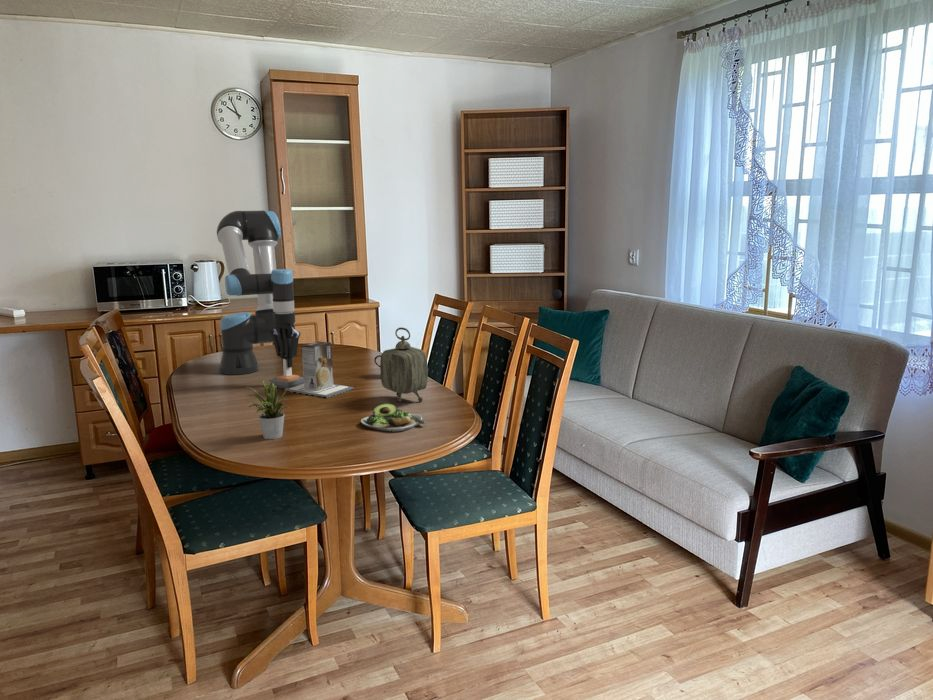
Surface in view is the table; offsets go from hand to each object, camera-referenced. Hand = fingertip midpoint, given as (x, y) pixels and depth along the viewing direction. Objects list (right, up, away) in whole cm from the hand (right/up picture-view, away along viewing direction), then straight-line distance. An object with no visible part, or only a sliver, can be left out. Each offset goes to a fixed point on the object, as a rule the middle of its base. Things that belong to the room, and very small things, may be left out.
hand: (287, 375), depth 253 cm
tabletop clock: (+45, -8, -21) cm, 50 cm away
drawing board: (+13, -5, -7) cm, 15 cm away
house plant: (+10, -15, -57) cm, 60 cm away
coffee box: (+13, -4, -7) cm, 15 cm away
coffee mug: (+37, -1, +14) cm, 39 cm away
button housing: (0, -4, +1) cm, 4 cm away
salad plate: (+43, -13, -45) cm, 64 cm away
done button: (0, -2, 0) cm, 2 cm away
